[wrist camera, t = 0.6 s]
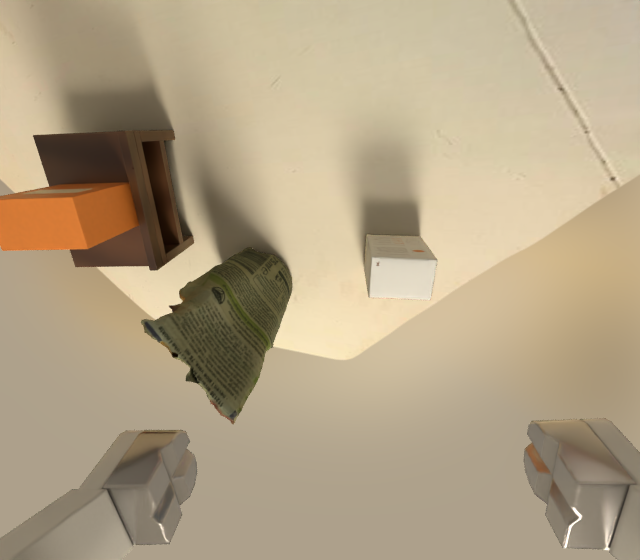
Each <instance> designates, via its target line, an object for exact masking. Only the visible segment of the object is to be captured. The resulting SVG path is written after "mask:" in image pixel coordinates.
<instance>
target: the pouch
mask: <svg viewBox="0 0 640 560" xmlns="http://www.w3.org/2000/svg"><path fill="white" fill-rule="evenodd" d="M291 292H292V278H291V276H290V274H289V272H288V269H287V267H286V266H285V265H284V264H283V263H282V261H281V260H280V259H279V258H278V257H276V256H275V255H272V254H266V253H262V252H257V251H256V250H254V249H252V248H251V247H249V248H246V249H244V250H243V251H242V252H240V253H238V254H235V255H234V256H232V257H231V258H229V259H228V260H227V261H226V262H224V263H223V264H220V265H217V266H215V267H213V268H212V269H211V270H210V271H209V272H207V273H205V274H204V275H202V276H201V277H199V278H197V279H196V280H194V281H193V282H188V283H187V284H186V286H185V287H184V288H182V289H180V291H179V295H180V298H181V299H182V300H183V302H182V303H181V304H178V305H174V306H169V307H170V308H171V309H172V311H173V313H170V314H167V315H164V316H162V317H160V318H159V319H157V320H155V321H153V320H147V319H144V320H142V321H141V323H142V325H143V326H144V330H145V333H147V334H148V335H150V336H151V337H152V338H153V339H155V340H157V341H158V342H159V343H161V344H162V345H164V346H165V347H167V348H168V350H169V351H170V353H171V354H172V357H173V358H176V359H178V360H181V361H182V362H184V363H185V364H186V365H188V366H189V367H190V371H189V373H188V374H187V375H186V381H191V382H195V383H197V384H199V385H200V386H201V387H202V388H203V389H204V390H205V392H206V394H207V397H208V398H209V400H210V402H211V404H213V405H214V406H215V408H216V409H217V411H218V412H219V413H220V415H222V416H224V417H226V418H227V419H229V420H230V421H231V423H232V424H234V423H235V421H236V418H237V417H238V415H239V413H240V412H241V410H242V408H243V406H244V404H245V402H246V400H247V398H248V396H249V395H250V393H251V392H252V390H253V388H254V387H255V384H256V382H257V380H258V378H259V376H260V372H261V369H262V365H263V362H264V357H265V353H266V351H267V350H269V349H270V348H272V347H273V345H274V344H273V342H274V340H275V337H276V334H277V332H278V329H279V327H280V323H281V320H282V318H283V315H284V312H285V311H286V307H287V304H288V301H289V299H290V295H291Z"/></svg>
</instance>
